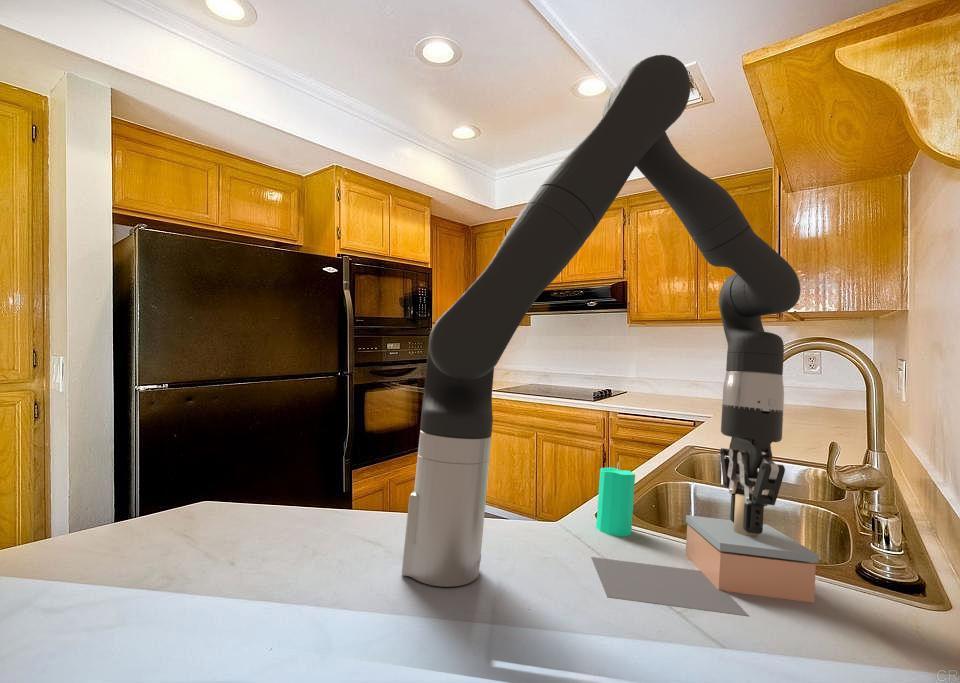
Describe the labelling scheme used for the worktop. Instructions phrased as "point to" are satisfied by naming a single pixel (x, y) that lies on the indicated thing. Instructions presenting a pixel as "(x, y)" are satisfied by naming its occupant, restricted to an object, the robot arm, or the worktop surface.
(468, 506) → the robot arm
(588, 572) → the worktop surface
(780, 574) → the dish
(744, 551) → the lid
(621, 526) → the candle
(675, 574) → the mat
